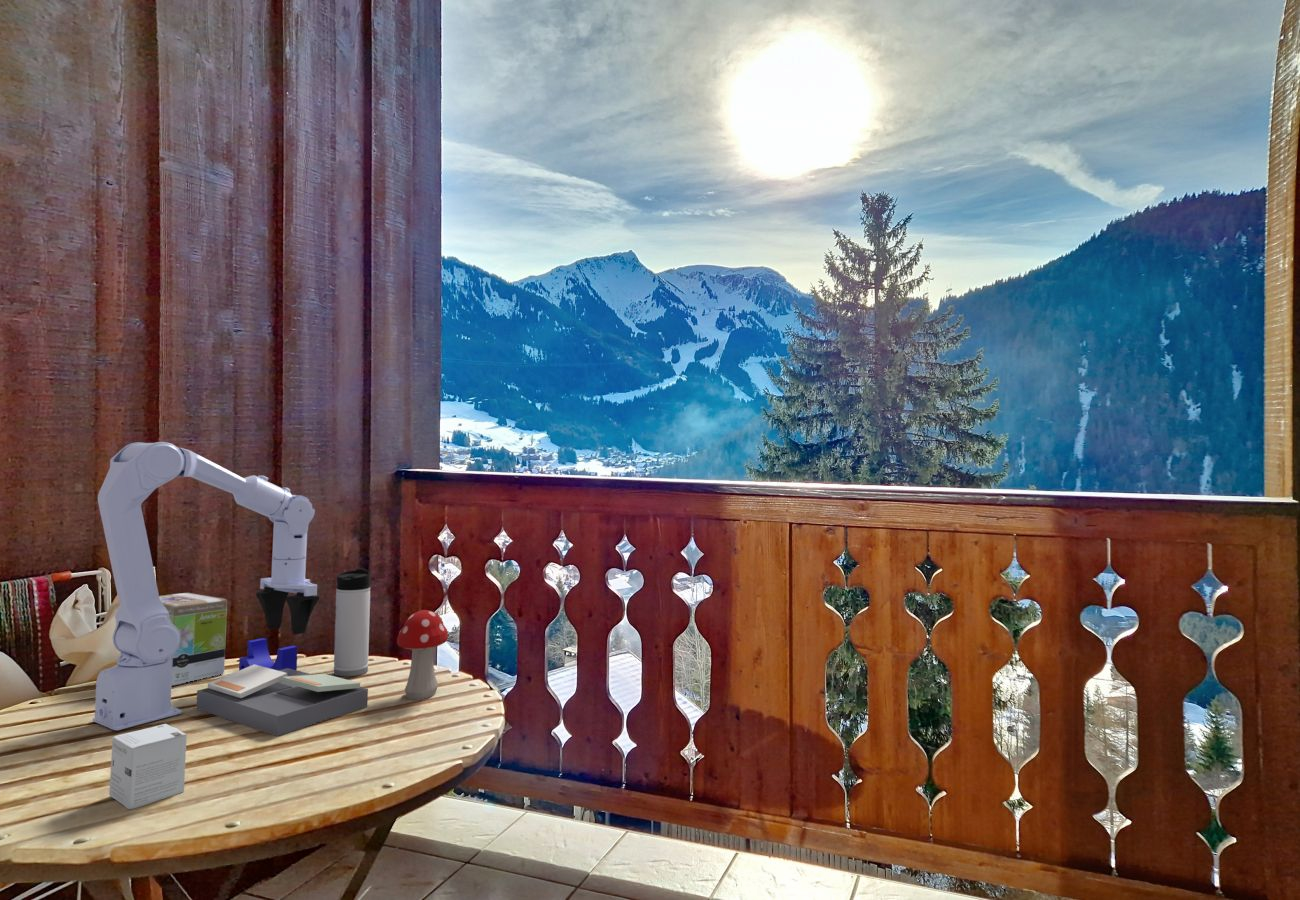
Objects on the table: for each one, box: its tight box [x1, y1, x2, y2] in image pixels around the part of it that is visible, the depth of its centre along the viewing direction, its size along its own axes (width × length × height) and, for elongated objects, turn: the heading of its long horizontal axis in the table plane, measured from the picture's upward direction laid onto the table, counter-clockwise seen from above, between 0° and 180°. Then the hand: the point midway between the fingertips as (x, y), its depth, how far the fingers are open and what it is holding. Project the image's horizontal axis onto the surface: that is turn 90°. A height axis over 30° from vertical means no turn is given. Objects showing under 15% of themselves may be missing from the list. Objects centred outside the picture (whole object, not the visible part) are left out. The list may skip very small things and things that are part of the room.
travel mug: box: [333, 568, 371, 678], centre depth 140 cm, size 6×7×20 cm
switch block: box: [195, 668, 369, 737], centre depth 121 cm, size 22×22×3 cm
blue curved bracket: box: [238, 637, 298, 671], centre depth 137 cm, size 12×4×6 cm, turn 58°
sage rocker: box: [281, 673, 361, 692], centre depth 118 cm, size 8×10×1 cm
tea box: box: [159, 592, 228, 687], centre depth 136 cm, size 15×10×15 cm
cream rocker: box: [207, 664, 288, 698], centre depth 119 cm, size 8×10×1 cm
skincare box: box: [109, 723, 188, 810], centre depth 87 cm, size 6×6×7 cm
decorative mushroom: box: [396, 609, 449, 701], centre depth 127 cm, size 10×9×15 cm
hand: (286, 630), depth 133 cm, fingers open, 7 cm apart
